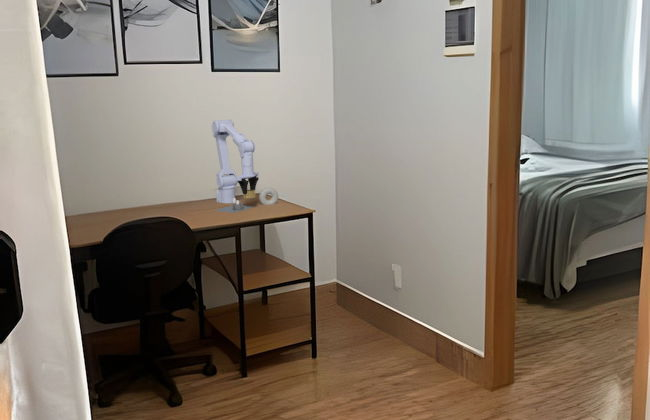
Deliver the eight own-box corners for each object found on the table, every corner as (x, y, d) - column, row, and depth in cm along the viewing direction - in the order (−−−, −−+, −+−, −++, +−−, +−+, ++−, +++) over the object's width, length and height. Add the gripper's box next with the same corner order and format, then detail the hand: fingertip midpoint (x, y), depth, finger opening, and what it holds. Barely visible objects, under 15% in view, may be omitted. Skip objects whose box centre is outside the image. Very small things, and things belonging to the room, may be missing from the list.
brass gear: (241, 198, 312) (241, 191, 311) (248, 196, 317) (248, 189, 316) (250, 198, 309) (250, 191, 309) (257, 196, 314) (256, 189, 313)
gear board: (214, 213, 312) (213, 201, 310) (235, 207, 325) (234, 195, 324) (234, 215, 305) (233, 203, 304) (255, 209, 318) (254, 197, 317)
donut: (277, 205, 328) (276, 186, 326) (279, 206, 324) (278, 187, 322) (258, 206, 324) (257, 187, 322) (260, 208, 321) (259, 188, 319)
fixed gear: (230, 210, 311) (230, 204, 310) (236, 208, 316) (235, 202, 315) (240, 210, 309) (239, 204, 308) (245, 208, 314) (245, 202, 313)
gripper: (244, 168, 302) (245, 196, 305) (263, 164, 314) (264, 191, 317) (233, 167, 305) (234, 194, 308) (251, 163, 317) (253, 189, 320)
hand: (248, 192), depth 313 cm, fingers closed on brass gear, 5 cm apart
